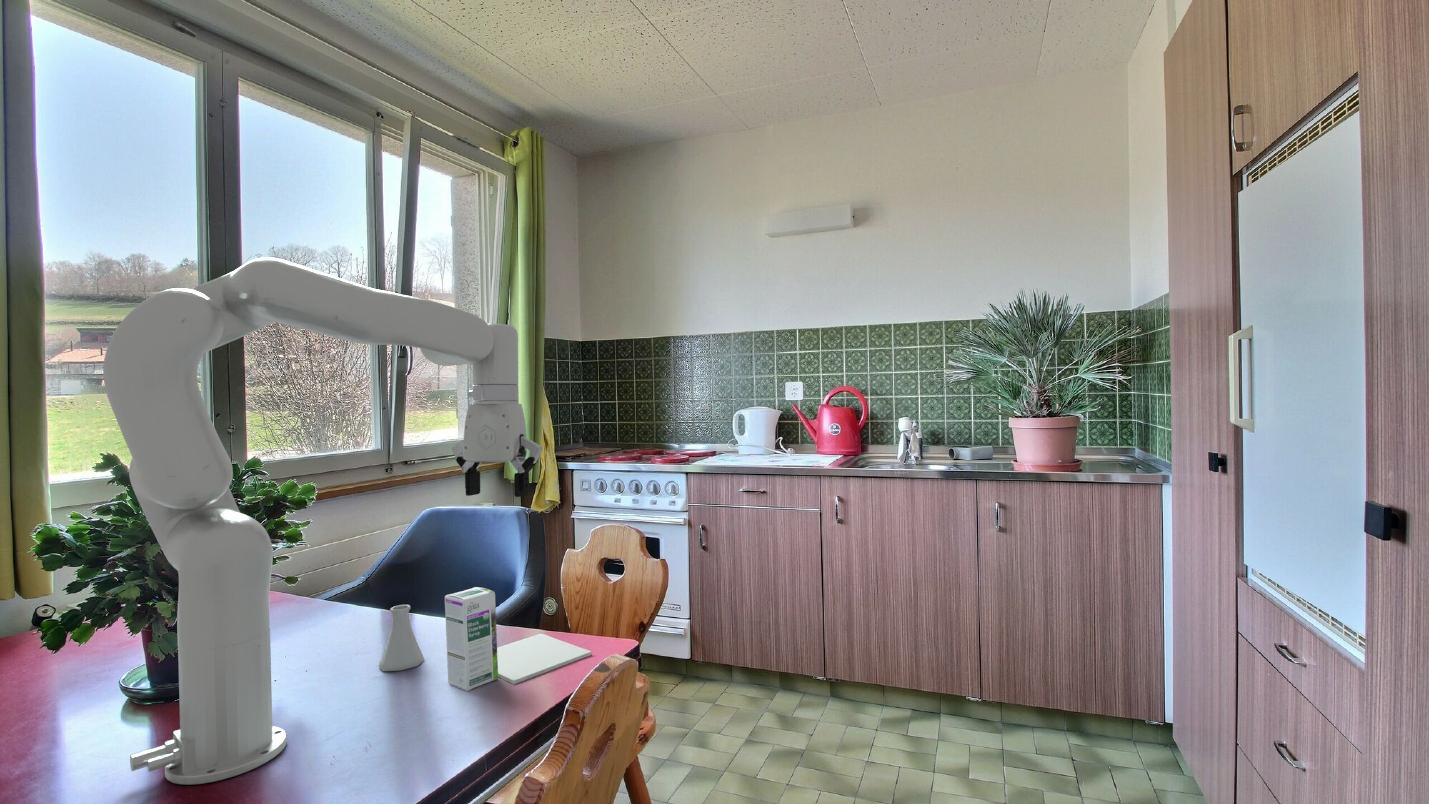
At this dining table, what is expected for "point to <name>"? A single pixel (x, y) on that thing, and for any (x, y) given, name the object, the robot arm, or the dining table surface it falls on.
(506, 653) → the mat
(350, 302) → the robot arm
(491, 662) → the syrup box
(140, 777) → the dining table surface
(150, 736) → the dining table surface
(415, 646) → the flask
